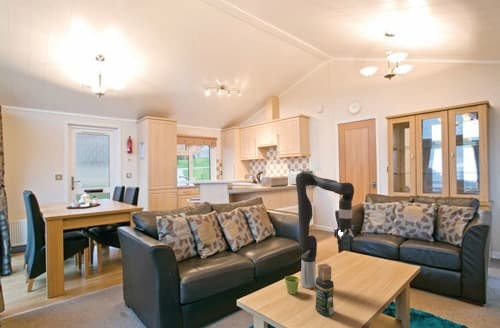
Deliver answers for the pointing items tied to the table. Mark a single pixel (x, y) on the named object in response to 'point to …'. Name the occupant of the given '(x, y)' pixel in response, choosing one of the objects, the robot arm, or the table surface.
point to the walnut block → (324, 272)
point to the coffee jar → (324, 297)
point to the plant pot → (292, 284)
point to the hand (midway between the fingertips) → (345, 244)
